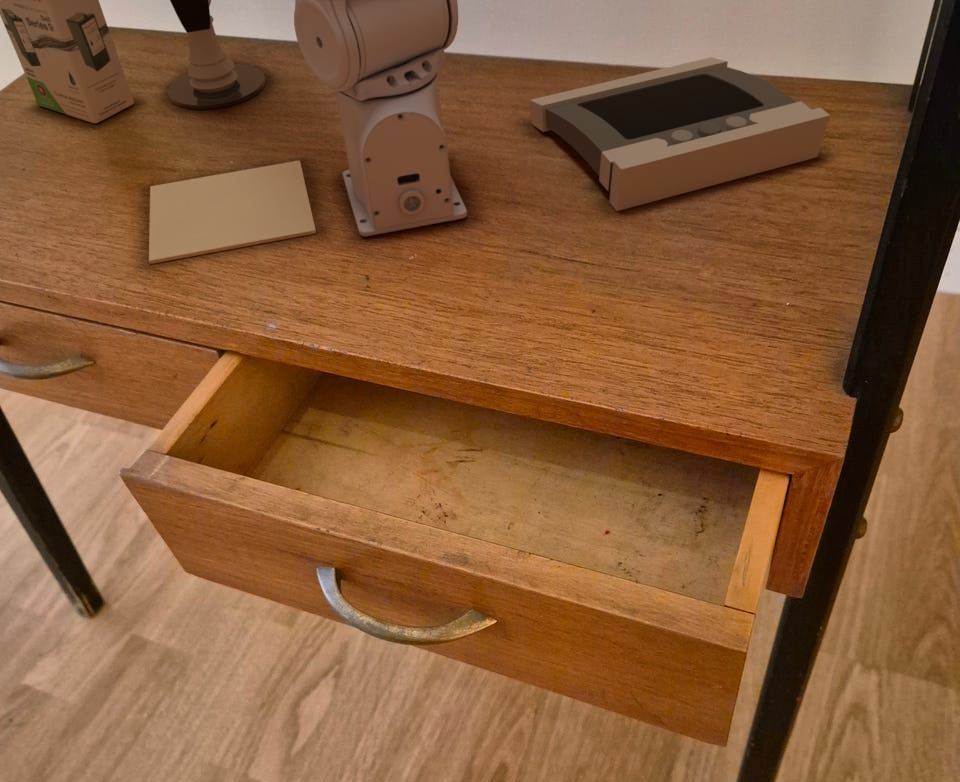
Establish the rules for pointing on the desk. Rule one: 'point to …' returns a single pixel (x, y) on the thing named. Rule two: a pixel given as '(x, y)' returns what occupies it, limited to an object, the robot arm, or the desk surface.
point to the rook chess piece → (209, 62)
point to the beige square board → (228, 211)
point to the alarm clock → (681, 129)
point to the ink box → (68, 56)
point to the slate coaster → (243, 89)
